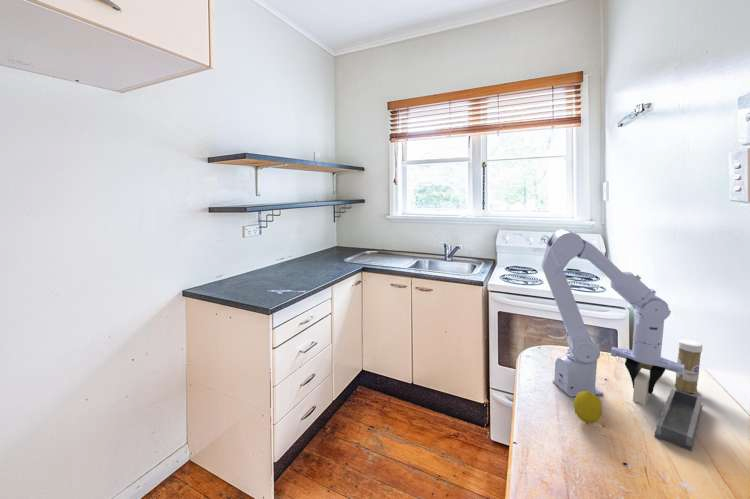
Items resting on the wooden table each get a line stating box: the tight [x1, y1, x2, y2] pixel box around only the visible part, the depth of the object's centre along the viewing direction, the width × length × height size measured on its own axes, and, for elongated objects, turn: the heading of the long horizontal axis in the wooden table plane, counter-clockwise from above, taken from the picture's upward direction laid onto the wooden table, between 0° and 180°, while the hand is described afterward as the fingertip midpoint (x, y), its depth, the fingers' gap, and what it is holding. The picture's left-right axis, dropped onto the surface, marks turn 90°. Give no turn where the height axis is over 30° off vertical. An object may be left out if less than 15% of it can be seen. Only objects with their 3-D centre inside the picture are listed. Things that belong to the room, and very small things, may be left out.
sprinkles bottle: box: [674, 338, 703, 394], centre depth 89 cm, size 5×5×13 cm
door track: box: [653, 388, 703, 452], centre depth 77 cm, size 20×6×3 cm, turn 131°
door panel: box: [632, 368, 651, 406], centre depth 87 cm, size 8×2×6 cm, turn 131°
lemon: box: [573, 391, 603, 424], centre depth 77 cm, size 6×6×8 cm
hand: (642, 389), depth 87 cm, fingers closed on door panel, 2 cm apart
